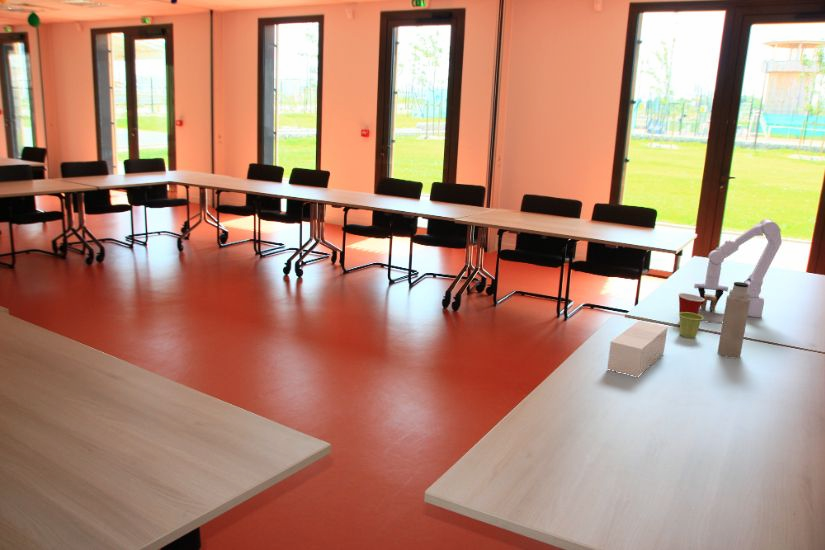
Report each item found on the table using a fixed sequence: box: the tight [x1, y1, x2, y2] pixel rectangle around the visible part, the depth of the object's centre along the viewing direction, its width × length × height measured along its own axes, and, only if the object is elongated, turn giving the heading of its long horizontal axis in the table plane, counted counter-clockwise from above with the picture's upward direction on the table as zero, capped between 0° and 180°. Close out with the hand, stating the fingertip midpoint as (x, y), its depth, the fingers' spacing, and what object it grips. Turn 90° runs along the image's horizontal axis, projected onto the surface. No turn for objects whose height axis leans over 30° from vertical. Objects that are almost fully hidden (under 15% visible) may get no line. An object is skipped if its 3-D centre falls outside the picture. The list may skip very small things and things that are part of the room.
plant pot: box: [678, 312, 703, 339], centre depth 282 cm, size 9×9×9 cm
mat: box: [698, 310, 724, 324], centre depth 310 cm, size 16×16×1 cm
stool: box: [700, 293, 717, 312], centre depth 323 cm, size 5×5×7 cm
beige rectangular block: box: [606, 320, 668, 378], centre depth 249 cm, size 32×11×11 cm, turn 145°
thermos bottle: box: [717, 281, 750, 358], centre depth 260 cm, size 8×8×28 cm
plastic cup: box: [677, 292, 705, 314], centre depth 300 cm, size 11×11×12 cm
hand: (708, 304), depth 323 cm, fingers closed on stool, 5 cm apart
